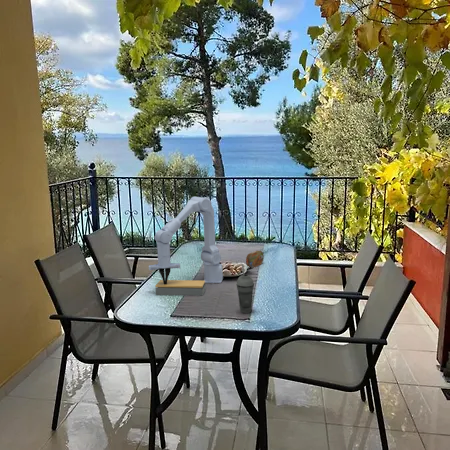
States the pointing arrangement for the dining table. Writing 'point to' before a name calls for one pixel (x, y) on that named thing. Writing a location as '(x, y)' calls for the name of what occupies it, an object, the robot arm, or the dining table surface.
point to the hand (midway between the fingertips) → (165, 283)
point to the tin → (254, 259)
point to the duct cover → (181, 283)
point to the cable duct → (180, 291)
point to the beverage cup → (245, 292)
